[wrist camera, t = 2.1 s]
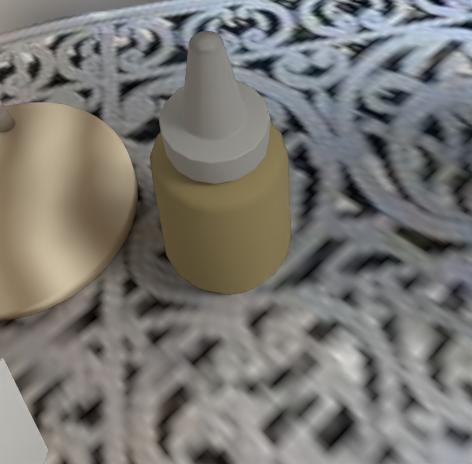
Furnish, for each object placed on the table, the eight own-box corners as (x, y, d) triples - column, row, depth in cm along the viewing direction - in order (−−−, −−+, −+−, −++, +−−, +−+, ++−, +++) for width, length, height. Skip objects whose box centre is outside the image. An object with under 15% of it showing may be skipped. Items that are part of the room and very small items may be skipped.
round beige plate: (115, 93, 38) (93, 35, 33) (161, 276, 30) (141, 238, 25) (-97, 146, 36) (-157, 93, 31) (-108, 356, 28) (-192, 333, 23)
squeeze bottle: (259, 192, 33) (266, -53, 17) (306, 284, 30) (371, 87, 14) (158, 229, 32) (64, 4, 16) (195, 330, 28) (122, 172, 12)
